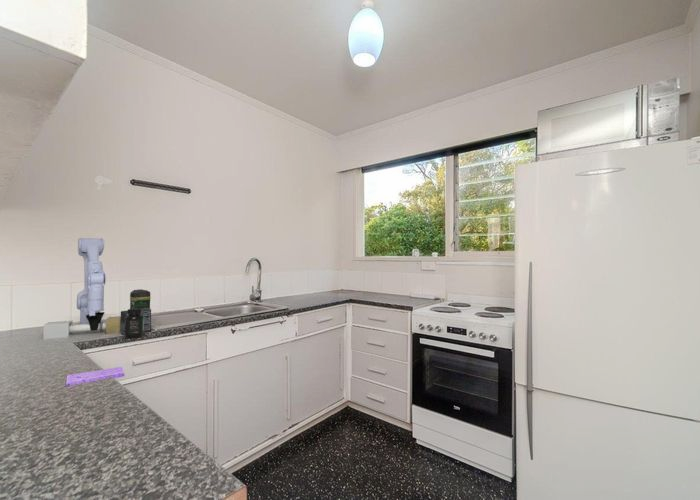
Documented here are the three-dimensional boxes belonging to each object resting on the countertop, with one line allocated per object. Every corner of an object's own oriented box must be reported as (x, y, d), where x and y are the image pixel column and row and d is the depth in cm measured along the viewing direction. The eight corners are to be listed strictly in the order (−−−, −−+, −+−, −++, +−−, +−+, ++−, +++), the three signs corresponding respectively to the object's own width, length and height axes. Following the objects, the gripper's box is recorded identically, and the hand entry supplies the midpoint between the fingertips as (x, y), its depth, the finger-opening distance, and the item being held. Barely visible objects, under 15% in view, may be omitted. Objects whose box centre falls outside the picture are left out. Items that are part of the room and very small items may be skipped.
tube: (59, 335, 137) (59, 325, 137) (62, 333, 140) (62, 324, 141) (111, 330, 146) (111, 321, 146) (113, 329, 149) (113, 320, 149)
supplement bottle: (147, 335, 141) (147, 307, 142) (135, 338, 135) (136, 310, 135) (132, 334, 142) (133, 307, 142) (120, 338, 135) (120, 310, 136)
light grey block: (43, 339, 133) (43, 324, 134) (48, 336, 139) (48, 322, 139) (68, 337, 137) (68, 322, 138) (72, 334, 143) (72, 320, 143)
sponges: (67, 381, 88) (67, 374, 89) (123, 371, 96) (123, 365, 96) (65, 389, 83) (65, 382, 83) (124, 378, 91) (124, 371, 91)
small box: (145, 329, 152) (146, 307, 153) (151, 331, 148) (152, 308, 149) (119, 334, 144) (120, 310, 144) (125, 336, 140) (125, 311, 140)
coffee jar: (152, 327, 158) (152, 289, 159) (133, 329, 152) (134, 290, 153) (145, 324, 165) (146, 288, 165) (127, 327, 159) (128, 289, 159)
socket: (105, 334, 143) (106, 319, 144) (108, 331, 150) (108, 317, 150) (119, 332, 146) (119, 318, 146) (121, 329, 152) (121, 316, 152)
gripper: (88, 298, 149) (87, 327, 149) (80, 301, 137) (79, 333, 136) (106, 297, 153) (106, 326, 152) (101, 300, 140) (100, 331, 140)
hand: (95, 329), depth 144 cm, fingers closed on tube, 3 cm apart
